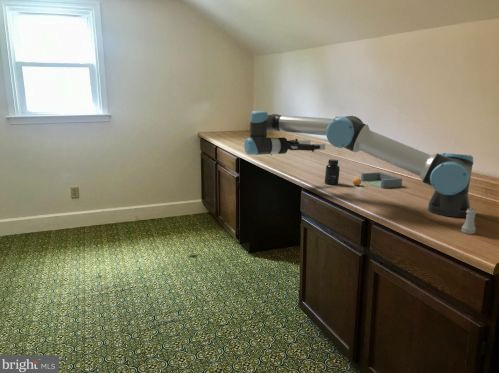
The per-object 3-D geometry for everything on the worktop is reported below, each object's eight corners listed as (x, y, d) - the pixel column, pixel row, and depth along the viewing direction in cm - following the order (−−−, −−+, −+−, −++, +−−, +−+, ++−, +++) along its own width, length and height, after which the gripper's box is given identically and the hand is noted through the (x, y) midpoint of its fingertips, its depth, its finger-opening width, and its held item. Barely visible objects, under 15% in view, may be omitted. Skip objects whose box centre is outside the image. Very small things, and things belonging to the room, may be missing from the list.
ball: (360, 186, 200) (360, 178, 199) (351, 185, 202) (352, 177, 201) (361, 185, 204) (362, 177, 203) (353, 184, 205) (353, 176, 205)
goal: (382, 188, 199) (383, 180, 198) (360, 180, 214) (361, 173, 213) (401, 186, 203) (402, 178, 202) (378, 179, 218) (379, 172, 217)
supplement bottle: (331, 185, 201) (332, 161, 198) (321, 182, 207) (323, 159, 204) (341, 184, 204) (343, 160, 202) (331, 181, 210) (333, 158, 207)
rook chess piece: (458, 229, 141) (461, 207, 139) (472, 230, 140) (475, 207, 139) (463, 233, 137) (467, 210, 135) (477, 234, 136) (481, 211, 134)
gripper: (265, 149, 202) (303, 148, 209) (289, 158, 179) (330, 156, 187) (266, 134, 200) (304, 134, 208) (290, 141, 177) (332, 140, 185)
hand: (317, 144), depth 197 cm, fingers open, 13 cm apart
